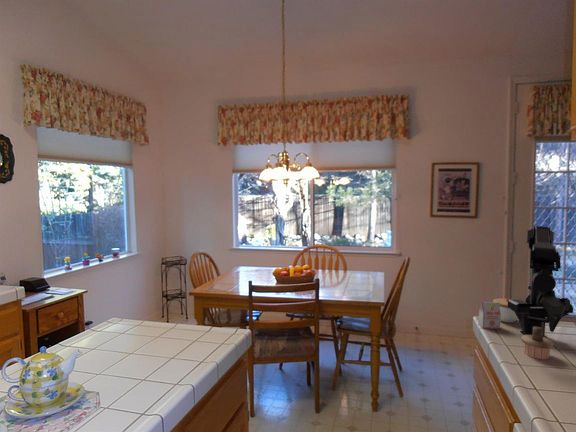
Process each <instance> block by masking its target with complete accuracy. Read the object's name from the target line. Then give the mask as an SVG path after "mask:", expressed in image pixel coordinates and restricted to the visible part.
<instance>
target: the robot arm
mask: <svg viewBox="0 0 576 432" xmlns="http://www.w3.org/2000/svg"><path fill="white" fill-rule="evenodd" d="M554 239H555V232H554V231H553V230H551V227H549V226H541V225H536V226H533V228H531V229H529V230H527V232H526V238H525V241H526V244H528V245H527V248H528V250H529V269H531V270H530V271H531V274H530V285H528V287H527V288H528V290H529V291H530V292H529V294H528V295H526V297H525V299H524V300H521V299H510V300H509V301H508V306H507V307H508V308H510V309H511V310H512V311H514V312H515V314H516V316H517V318H518V319H517V320H518V322H519V324H520V327H521V330H520V331H519V332H520V333H521V334H523V335H532V333H533V327H534V326H537V327H541V328H543V329H544V332H543V337H545V338H548V336H547V335H546V334H545V331H546V324H548V327H549V332H551V333H554V332H555V330H556V328H557V326H558V324H559V322H560V321H561V320H562V318H564V317H566V316H569V315H570V314H574V306H573V305H572V303H571V300H570V299H569V298H567V297H557V296H556V291H555V287H556V285H557V281H556V279H555V278H554V272H559V269H561V266H562V265H561V264H562V263H561V255H560V252H558V251H557V249H556V246H555V245H553V244H554V242H555V241H554Z"/></svg>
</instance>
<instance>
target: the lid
mask: <svg viewBox="0 0 576 432" xmlns="http://www.w3.org/2000/svg"><path fill="white" fill-rule="evenodd" d="M543 332H544V329H543V328H541V327H537V326H534V327H533V333H532V335H524V334H523V335H521V342H522V343H523V344H524V343H525V344H528V345H530V346H534V347H538V348H550V349H553V348H554V347H555V342H554V341H553V340H551V339H549V338H548V337H547V338H545V337H543Z"/></svg>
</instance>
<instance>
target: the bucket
mask: <svg viewBox="0 0 576 432" xmlns="http://www.w3.org/2000/svg"><path fill="white" fill-rule="evenodd" d="M523 345H524V346H523V353H524V354H525V355H527V356H528V357H530V358H533V359H537V360H548V359H550V358H551V357H550V356H551V355H550V354H551V348H538V347H534V346H530V345H528V344H525V343H524V342H523Z"/></svg>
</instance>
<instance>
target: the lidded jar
mask: <svg viewBox="0 0 576 432" xmlns="http://www.w3.org/2000/svg"><path fill="white" fill-rule="evenodd" d="M509 300H511V299H510V297H509V298H508V297H506V298H494V299H493V300H492V302H499V304H500V312H501V320H500V322H504V323H515V322H516V321H517V320H518V318H517V316H516V314H515V312H514V311H512V310H511V309H510V308H508V307H507V306H508V301H509Z"/></svg>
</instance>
